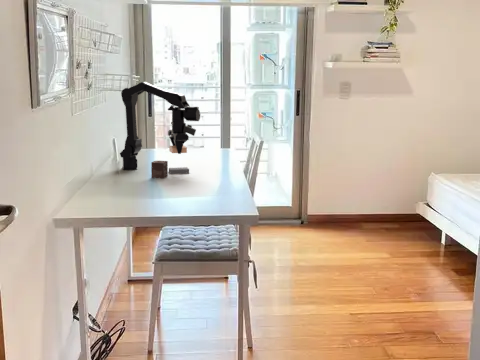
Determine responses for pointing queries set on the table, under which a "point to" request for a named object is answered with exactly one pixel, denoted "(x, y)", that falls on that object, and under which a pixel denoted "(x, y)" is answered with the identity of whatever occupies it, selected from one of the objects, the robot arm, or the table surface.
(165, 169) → the box
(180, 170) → the block
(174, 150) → the tile
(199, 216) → the table surface
